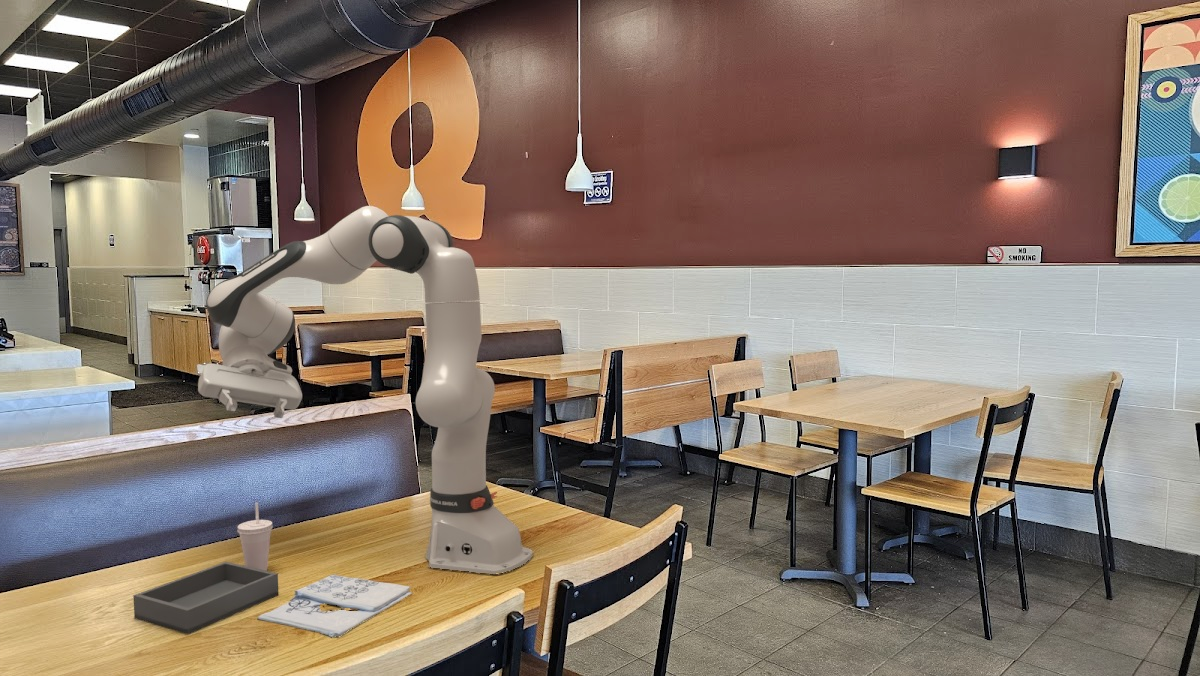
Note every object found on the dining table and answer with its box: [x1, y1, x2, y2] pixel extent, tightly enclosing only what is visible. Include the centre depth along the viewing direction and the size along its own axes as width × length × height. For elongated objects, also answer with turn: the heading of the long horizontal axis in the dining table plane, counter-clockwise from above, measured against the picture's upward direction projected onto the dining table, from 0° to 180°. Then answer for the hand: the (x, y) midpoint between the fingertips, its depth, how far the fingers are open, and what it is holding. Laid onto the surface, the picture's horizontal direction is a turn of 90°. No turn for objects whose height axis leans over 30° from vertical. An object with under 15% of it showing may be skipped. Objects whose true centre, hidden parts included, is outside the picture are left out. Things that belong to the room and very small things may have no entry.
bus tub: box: [132, 561, 280, 635], centre depth 139 cm, size 14×18×4 cm
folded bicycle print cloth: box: [257, 574, 413, 638], centre depth 139 cm, size 19×20×2 cm
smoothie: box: [237, 502, 274, 571], centre depth 154 cm, size 6×6×14 cm
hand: (256, 412), depth 158 cm, fingers open, 8 cm apart
